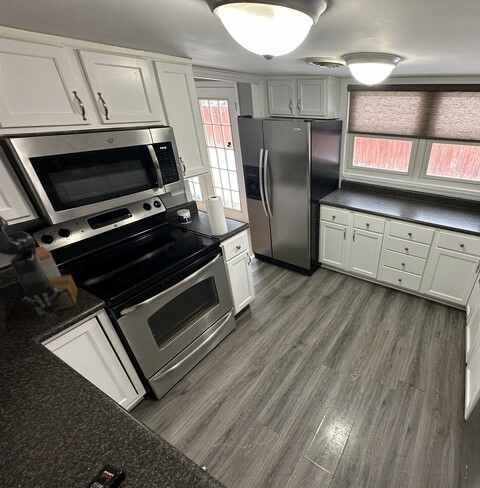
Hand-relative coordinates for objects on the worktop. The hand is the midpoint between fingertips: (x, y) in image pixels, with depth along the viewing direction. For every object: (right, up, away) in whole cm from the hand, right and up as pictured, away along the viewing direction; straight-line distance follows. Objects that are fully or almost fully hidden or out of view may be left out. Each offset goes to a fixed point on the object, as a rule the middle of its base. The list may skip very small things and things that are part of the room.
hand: (51, 311), depth 116 cm
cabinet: (-10, +2, +14) cm, 17 cm away
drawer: (-6, +1, +9) cm, 11 cm away
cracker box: (-23, +7, +25) cm, 35 cm away
